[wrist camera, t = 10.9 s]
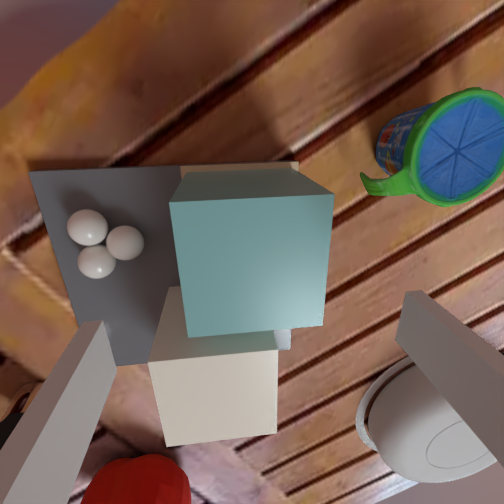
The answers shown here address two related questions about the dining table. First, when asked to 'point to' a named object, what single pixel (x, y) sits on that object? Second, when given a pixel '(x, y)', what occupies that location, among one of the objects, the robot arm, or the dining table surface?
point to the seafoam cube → (251, 250)
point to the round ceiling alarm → (419, 429)
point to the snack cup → (443, 149)
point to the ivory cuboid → (212, 380)
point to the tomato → (139, 482)
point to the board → (126, 271)
